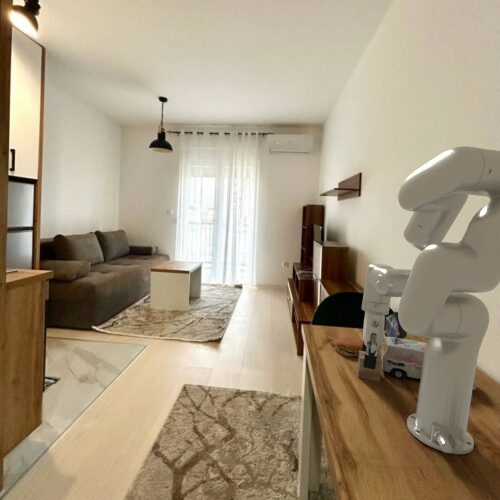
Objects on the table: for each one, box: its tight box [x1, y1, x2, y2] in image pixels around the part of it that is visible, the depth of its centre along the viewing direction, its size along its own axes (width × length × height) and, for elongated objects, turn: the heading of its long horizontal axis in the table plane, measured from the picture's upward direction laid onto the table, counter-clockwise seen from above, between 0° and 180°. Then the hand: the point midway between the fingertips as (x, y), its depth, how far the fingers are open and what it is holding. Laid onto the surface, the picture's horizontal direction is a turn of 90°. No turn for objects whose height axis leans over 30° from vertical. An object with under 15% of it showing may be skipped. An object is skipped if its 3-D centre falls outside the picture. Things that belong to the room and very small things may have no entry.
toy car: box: [380, 337, 477, 391], centre depth 98 cm, size 11×25×10 cm, turn 71°
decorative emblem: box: [383, 311, 408, 343], centre depth 117 cm, size 12×2×15 cm, turn 0°
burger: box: [334, 337, 363, 357], centre depth 114 cm, size 10×9×5 cm
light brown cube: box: [356, 351, 382, 383], centre depth 97 cm, size 6×6×6 cm
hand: (367, 360), depth 98 cm, fingers open, 9 cm apart
